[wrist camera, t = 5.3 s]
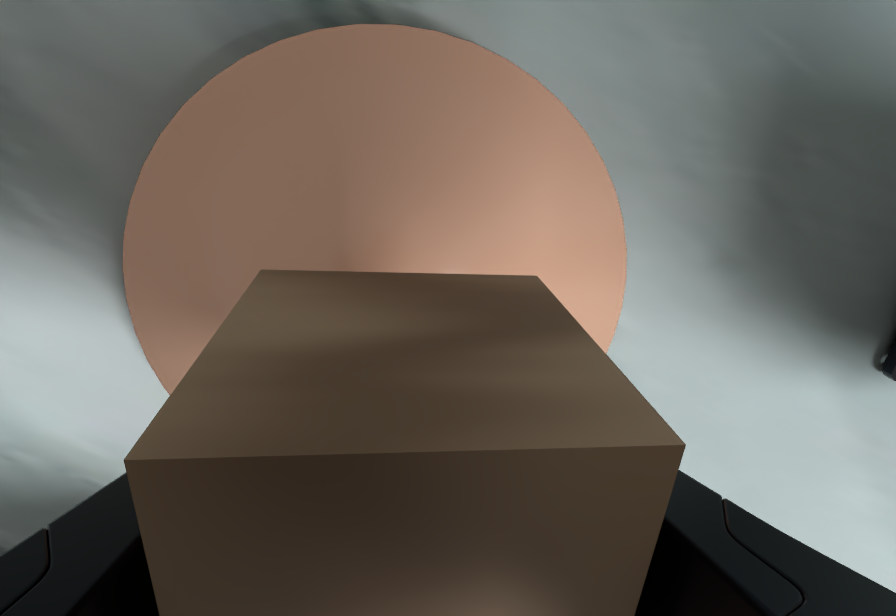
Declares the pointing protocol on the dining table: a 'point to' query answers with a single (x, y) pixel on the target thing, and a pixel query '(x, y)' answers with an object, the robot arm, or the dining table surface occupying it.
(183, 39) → the dining table surface
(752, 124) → the dining table surface
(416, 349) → the walnut block
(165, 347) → the salmon pink disc
